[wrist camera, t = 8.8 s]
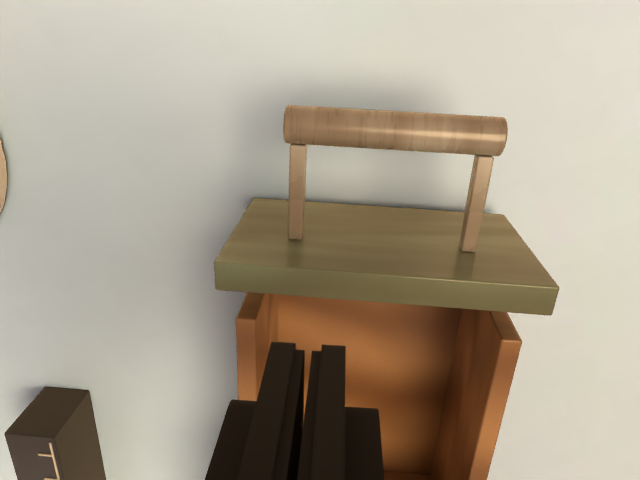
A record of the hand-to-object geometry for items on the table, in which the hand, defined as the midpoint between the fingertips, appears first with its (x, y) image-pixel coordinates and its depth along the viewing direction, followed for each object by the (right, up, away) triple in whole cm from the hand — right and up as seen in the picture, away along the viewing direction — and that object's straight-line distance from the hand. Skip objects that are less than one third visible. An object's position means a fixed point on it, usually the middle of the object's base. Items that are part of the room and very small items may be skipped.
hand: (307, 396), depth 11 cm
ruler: (-16, -11, +23) cm, 30 cm away
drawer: (+3, 0, +16) cm, 16 cm away
